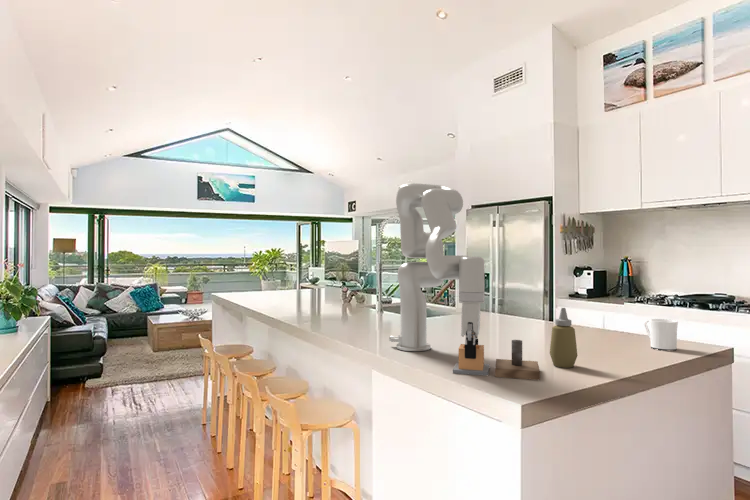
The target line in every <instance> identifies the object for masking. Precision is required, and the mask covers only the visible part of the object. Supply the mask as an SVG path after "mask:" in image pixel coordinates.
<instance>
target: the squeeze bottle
mask: <svg viewBox="0 0 750 500" xmlns="http://www.w3.org/2000/svg"><path fill="white" fill-rule="evenodd" d="M551 328H552V329H551V334H550V335H551V337H550V344H549V345H550V347H549V355H550V360H551V362H552V365H553V366H555V367H558V368H563V369H565V368H566V369H567V368H569V369H570V368H573V367H574V366H575V365H576V364H575V363H576V361H577V358H578V348H577V339H576V338H577V337H576V336H577V335H576V329H575V328H574V327H573V326H572V319H569V318H568V314H567V310H566V308H565V307H561V308H560V312H559V317H558V318H555V325H554V326H552V327H551Z"/></svg>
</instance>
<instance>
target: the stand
mask: <svg viewBox="0 0 750 500" xmlns="http://www.w3.org/2000/svg"><path fill="white" fill-rule="evenodd" d="M494 371H495V372H494V373H495V374H494V377H495V378H502V377H503V378H504V379H505V378H506V379H519V380H520V379H521V380H535V381H540V380H541V369H540V365H539V361H536V360H524V359H523V340H521V339H511V359H503V358H496V360H495V367H494ZM503 378H502V379H503Z"/></svg>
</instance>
